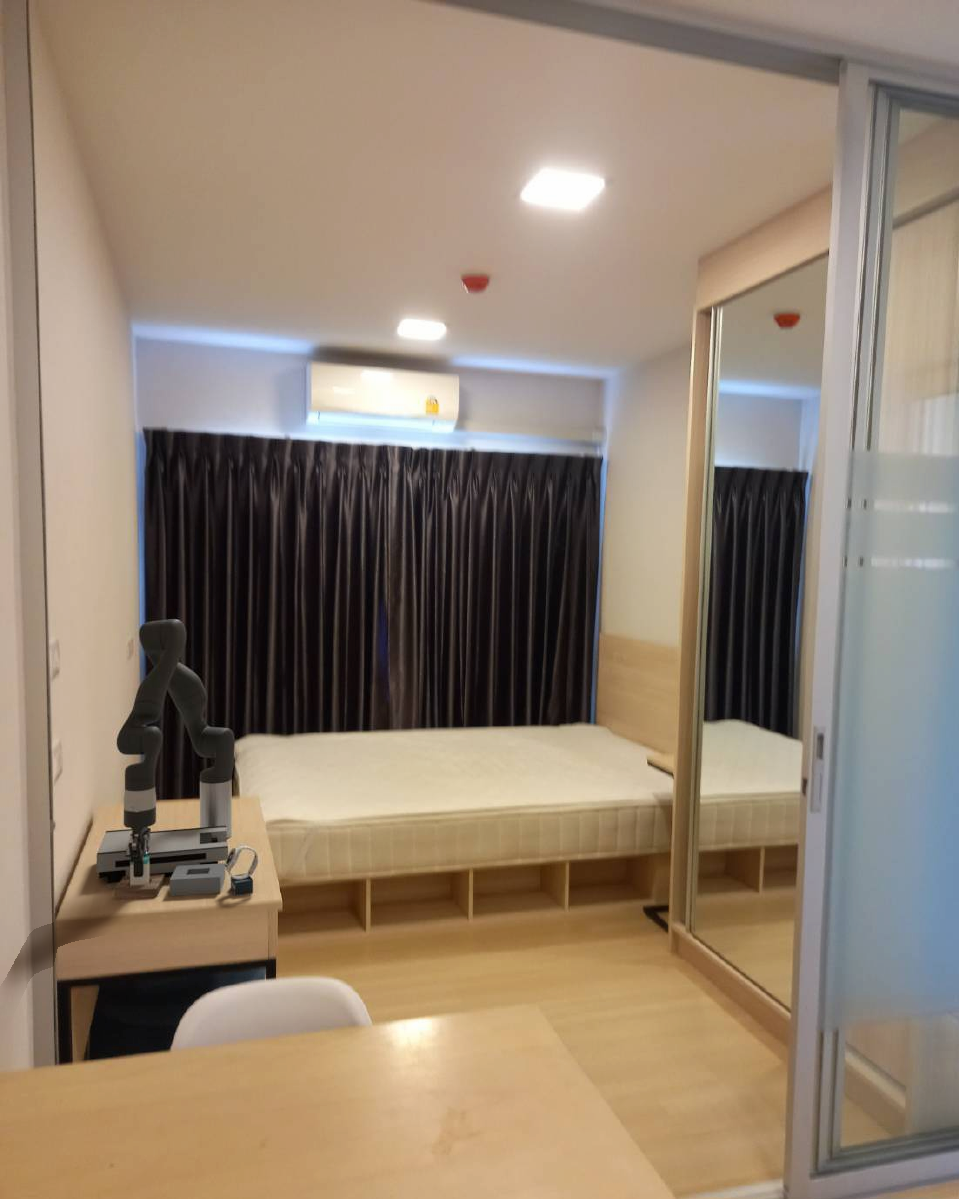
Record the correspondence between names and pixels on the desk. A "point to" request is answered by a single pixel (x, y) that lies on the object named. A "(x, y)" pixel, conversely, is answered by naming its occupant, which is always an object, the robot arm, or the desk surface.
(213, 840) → the game console
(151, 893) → the brown flat square frame
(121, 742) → the robot arm
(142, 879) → the plug
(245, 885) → the watch
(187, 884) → the port block
